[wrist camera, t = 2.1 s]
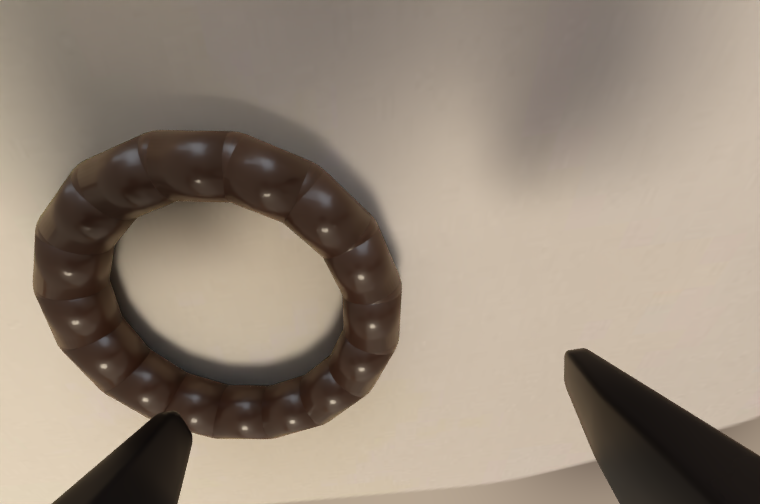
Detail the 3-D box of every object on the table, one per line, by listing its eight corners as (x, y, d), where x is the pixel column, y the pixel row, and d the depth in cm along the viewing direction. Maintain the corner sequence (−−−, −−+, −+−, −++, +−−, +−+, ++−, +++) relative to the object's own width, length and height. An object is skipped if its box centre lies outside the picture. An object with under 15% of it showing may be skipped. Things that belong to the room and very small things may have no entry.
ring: (312, 59, 11) (300, 60, 9) (440, 363, 16) (448, 402, 14) (-16, 207, 13) (-80, 231, 11) (190, 436, 18) (170, 478, 16)
